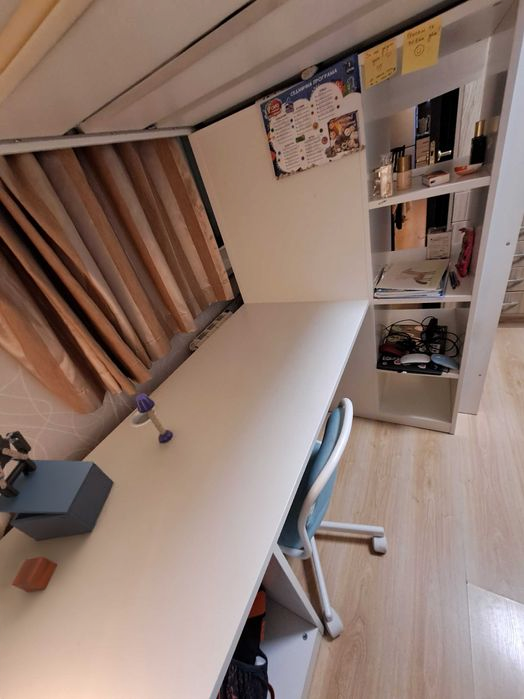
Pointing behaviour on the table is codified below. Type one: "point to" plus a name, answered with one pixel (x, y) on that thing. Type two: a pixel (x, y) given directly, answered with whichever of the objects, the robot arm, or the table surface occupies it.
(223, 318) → the table surface
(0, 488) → the robot arm
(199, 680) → the table surface
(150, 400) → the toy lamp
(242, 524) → the table surface
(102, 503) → the blue storage chest
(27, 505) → the lid
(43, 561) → the block
